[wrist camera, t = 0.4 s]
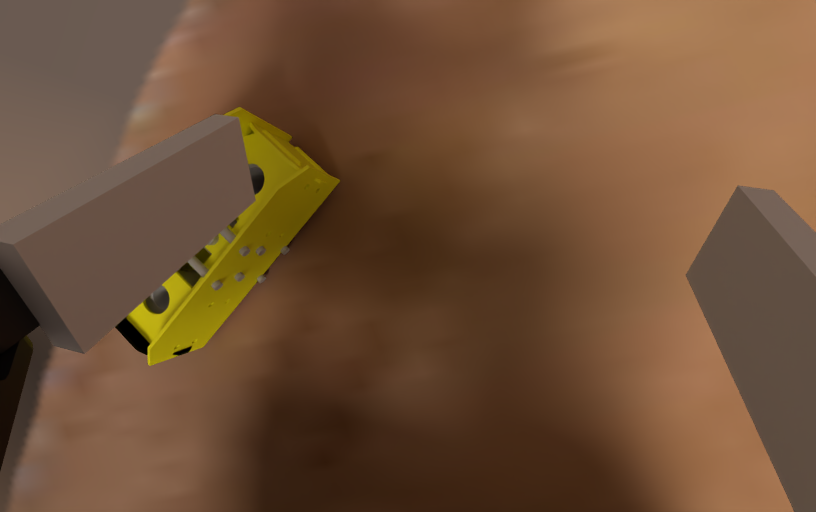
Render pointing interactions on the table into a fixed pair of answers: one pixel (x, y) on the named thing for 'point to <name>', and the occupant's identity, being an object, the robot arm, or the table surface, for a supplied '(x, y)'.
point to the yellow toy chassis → (232, 248)
